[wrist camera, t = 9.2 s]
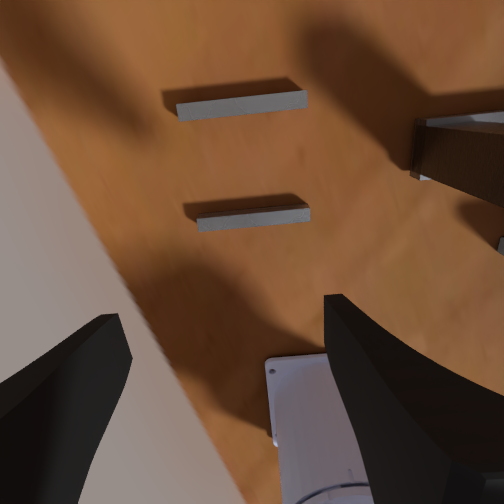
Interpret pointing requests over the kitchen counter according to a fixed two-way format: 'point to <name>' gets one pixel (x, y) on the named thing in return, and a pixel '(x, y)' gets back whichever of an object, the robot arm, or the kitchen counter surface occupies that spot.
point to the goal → (501, 246)
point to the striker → (462, 153)
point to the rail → (243, 107)
